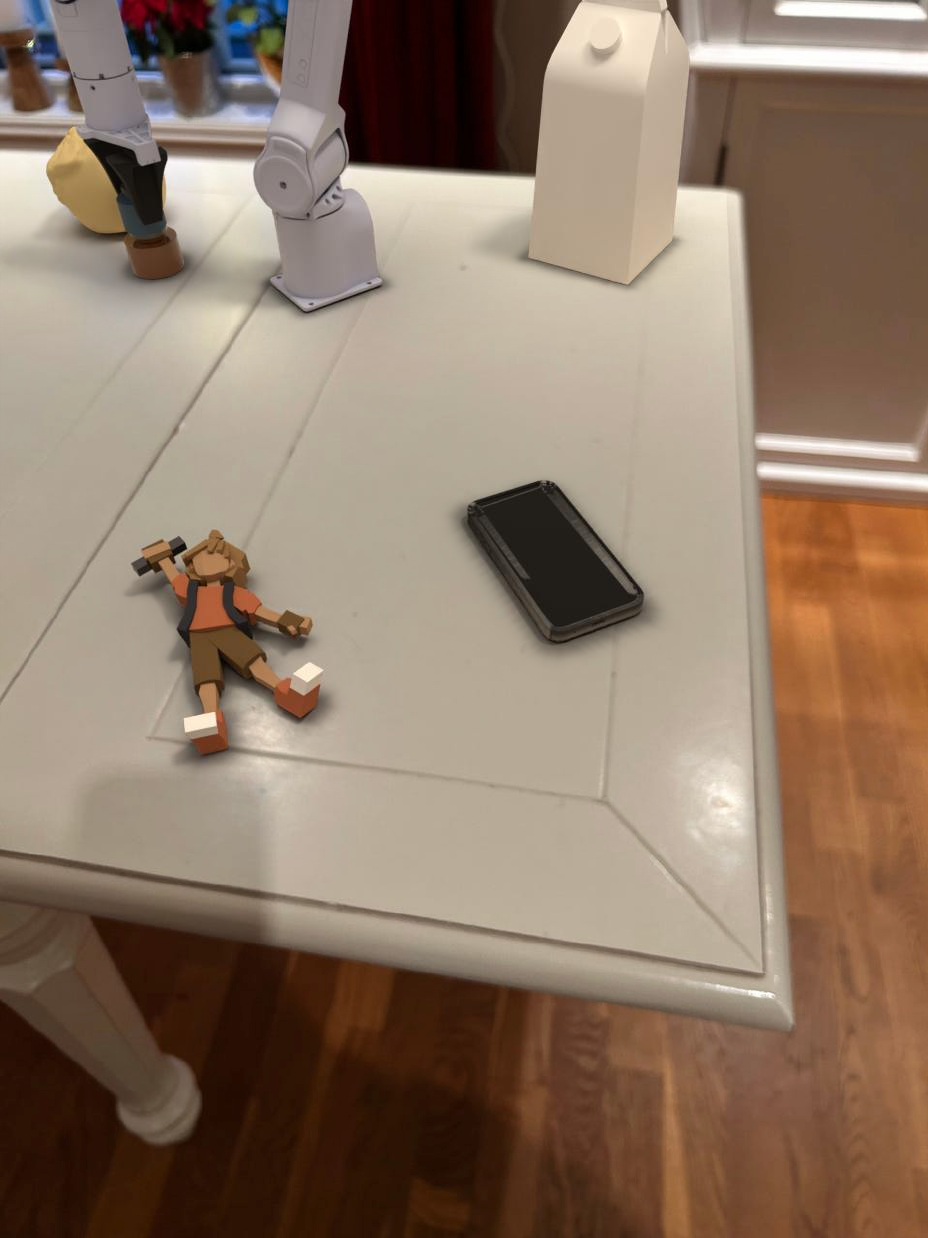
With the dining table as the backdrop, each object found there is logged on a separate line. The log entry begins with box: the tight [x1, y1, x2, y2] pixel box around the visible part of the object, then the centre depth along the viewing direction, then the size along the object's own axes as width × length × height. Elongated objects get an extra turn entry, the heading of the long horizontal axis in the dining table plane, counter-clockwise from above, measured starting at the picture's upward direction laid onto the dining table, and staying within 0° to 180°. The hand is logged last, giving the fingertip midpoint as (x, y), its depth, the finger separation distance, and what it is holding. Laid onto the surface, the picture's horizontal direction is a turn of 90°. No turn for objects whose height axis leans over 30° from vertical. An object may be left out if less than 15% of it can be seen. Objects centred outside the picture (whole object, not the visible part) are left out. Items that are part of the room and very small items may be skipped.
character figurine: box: [130, 529, 324, 755], centre depth 63 cm, size 12×5×18 cm
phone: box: [466, 479, 645, 643], centre depth 68 cm, size 8×1×15 cm
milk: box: [527, 0, 691, 286], centre depth 92 cm, size 12×12×26 cm
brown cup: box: [123, 224, 185, 280], centre depth 99 cm, size 6×6×5 cm
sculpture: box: [45, 126, 167, 234], centre depth 105 cm, size 11×12×11 cm
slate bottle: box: [116, 183, 168, 235], centre depth 96 cm, size 4×4×4 cm
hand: (143, 213), depth 97 cm, fingers closed on slate bottle, 4 cm apart
